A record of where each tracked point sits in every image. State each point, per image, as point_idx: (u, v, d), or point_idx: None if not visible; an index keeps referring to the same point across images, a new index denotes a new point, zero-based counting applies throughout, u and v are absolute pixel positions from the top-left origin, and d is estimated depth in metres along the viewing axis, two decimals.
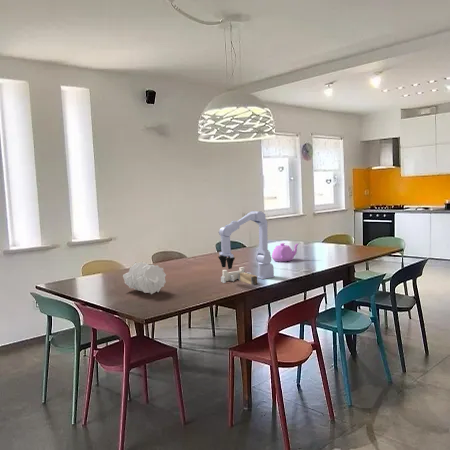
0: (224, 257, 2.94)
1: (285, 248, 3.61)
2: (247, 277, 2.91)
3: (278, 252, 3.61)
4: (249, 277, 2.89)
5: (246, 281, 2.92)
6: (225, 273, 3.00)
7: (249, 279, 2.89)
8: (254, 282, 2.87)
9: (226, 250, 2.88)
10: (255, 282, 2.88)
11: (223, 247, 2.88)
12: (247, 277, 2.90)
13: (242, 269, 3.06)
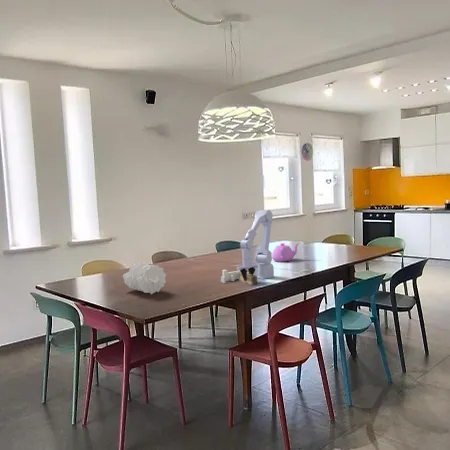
0: (250, 270, 2.94)
1: (285, 248, 3.61)
2: (247, 277, 2.91)
3: (278, 252, 3.61)
4: (249, 277, 2.89)
5: (246, 281, 2.92)
6: (225, 273, 3.00)
7: (249, 279, 2.89)
8: (254, 282, 2.87)
9: None
10: (255, 282, 2.88)
11: None
12: (247, 277, 2.90)
13: None
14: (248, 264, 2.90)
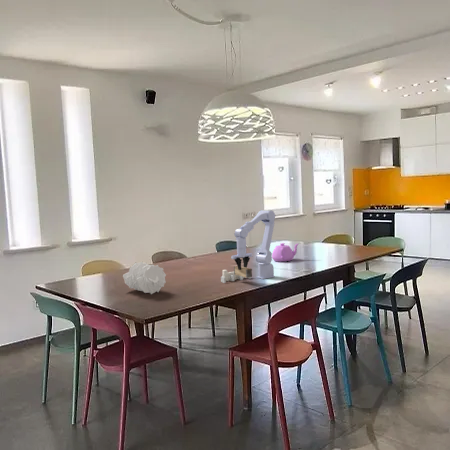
0: (245, 259, 2.93)
1: (285, 248, 3.61)
2: (242, 270, 2.90)
3: (278, 252, 3.61)
4: (244, 270, 2.88)
5: (241, 274, 2.91)
6: (225, 273, 3.00)
7: (243, 272, 2.88)
8: (249, 275, 2.86)
9: (237, 251, 2.92)
10: (250, 275, 2.87)
11: None
12: (242, 270, 2.90)
13: None
14: (242, 253, 2.89)
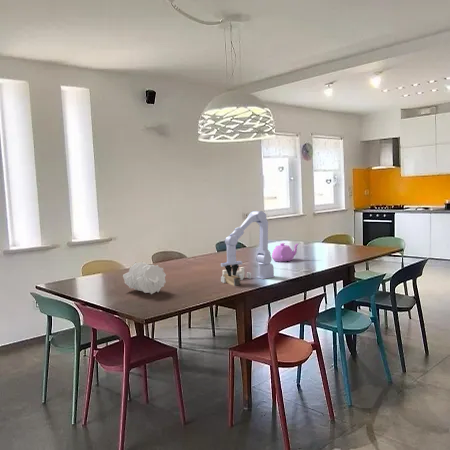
0: (234, 267, 2.93)
1: (285, 248, 3.61)
2: (230, 278, 2.90)
3: (278, 252, 3.61)
4: (232, 278, 2.88)
5: (229, 282, 2.91)
6: (225, 273, 3.00)
7: (232, 280, 2.88)
8: (237, 283, 2.86)
9: (227, 259, 2.92)
10: (238, 283, 2.86)
11: None
12: (230, 278, 2.90)
13: (242, 269, 3.06)
14: (232, 261, 2.89)
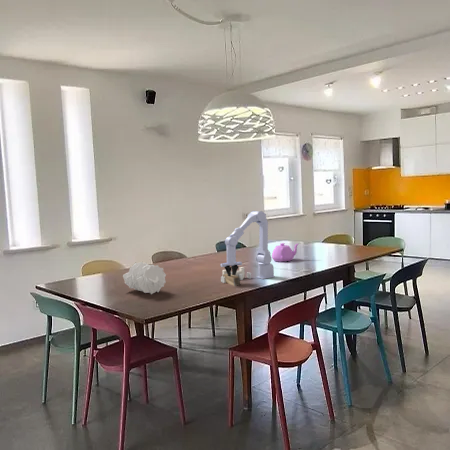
0: (234, 267, 2.93)
1: (285, 248, 3.61)
2: (230, 278, 2.90)
3: (278, 252, 3.61)
4: (232, 278, 2.88)
5: (229, 282, 2.91)
6: (225, 273, 3.00)
7: (231, 280, 2.88)
8: (237, 283, 2.86)
9: None
10: (238, 283, 2.86)
11: None
12: (230, 278, 2.89)
13: (242, 269, 3.06)
14: (232, 261, 2.89)
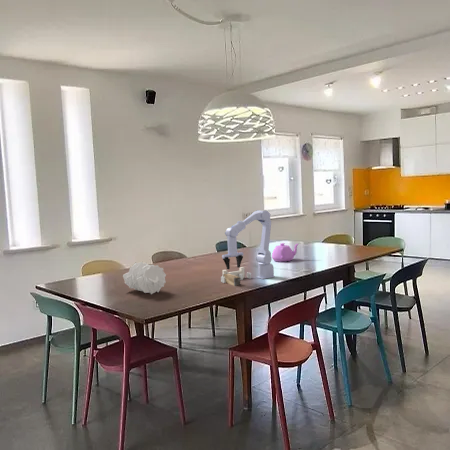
0: (238, 258, 2.94)
1: (285, 248, 3.61)
2: (230, 278, 2.90)
3: (278, 252, 3.61)
4: (232, 278, 2.88)
5: (229, 282, 2.91)
6: (225, 273, 3.00)
7: (232, 280, 2.88)
8: (237, 283, 2.86)
9: (228, 250, 2.92)
10: (238, 283, 2.86)
11: None
12: (230, 278, 2.90)
13: (242, 269, 3.06)
14: (233, 252, 2.89)
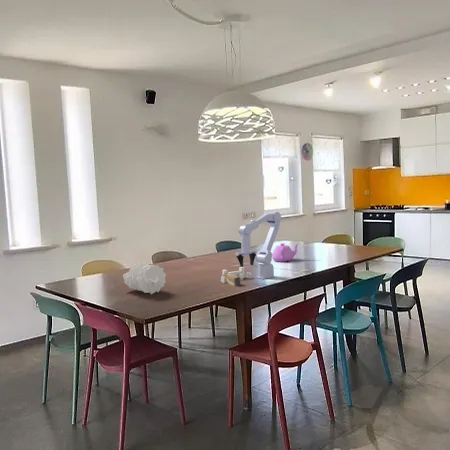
0: (251, 255, 2.97)
1: (285, 248, 3.61)
2: (230, 278, 2.90)
3: (278, 252, 3.61)
4: (232, 278, 2.88)
5: (229, 282, 2.91)
6: (225, 273, 3.00)
7: (232, 280, 2.88)
8: (237, 283, 2.86)
9: None
10: (238, 283, 2.86)
11: None
12: (230, 278, 2.90)
13: (242, 269, 3.06)
14: (247, 250, 2.93)
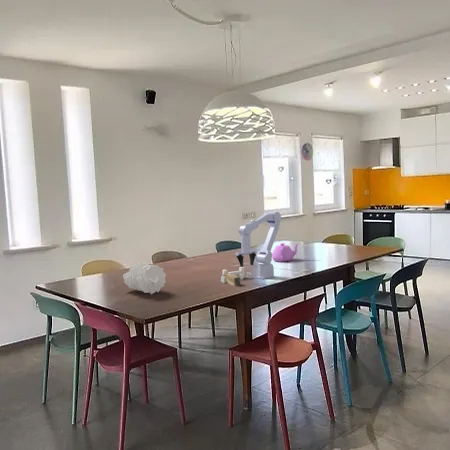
0: (251, 255, 2.97)
1: (285, 248, 3.61)
2: (230, 278, 2.90)
3: (278, 252, 3.61)
4: (232, 278, 2.88)
5: (229, 282, 2.91)
6: (225, 273, 3.00)
7: (232, 280, 2.88)
8: (237, 283, 2.86)
9: None
10: (238, 283, 2.86)
11: None
12: (230, 278, 2.90)
13: (242, 269, 3.06)
14: (247, 250, 2.93)
